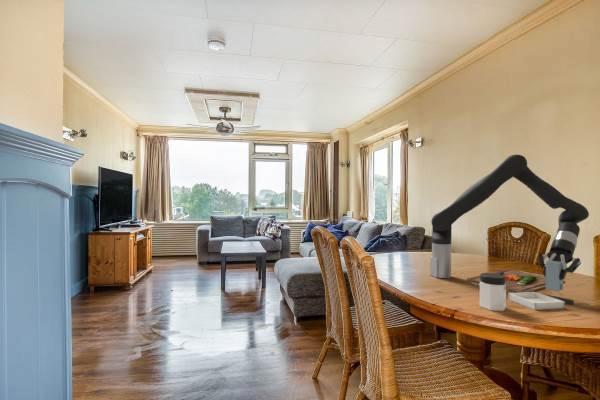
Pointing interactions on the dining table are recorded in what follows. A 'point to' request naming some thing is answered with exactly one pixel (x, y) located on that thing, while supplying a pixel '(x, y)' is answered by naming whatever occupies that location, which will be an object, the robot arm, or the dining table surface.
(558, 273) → the tall gray-blue pillar
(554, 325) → the dining table surface
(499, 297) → the jar
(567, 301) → the long charcoal bar
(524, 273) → the chopping board
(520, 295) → the parts tray
